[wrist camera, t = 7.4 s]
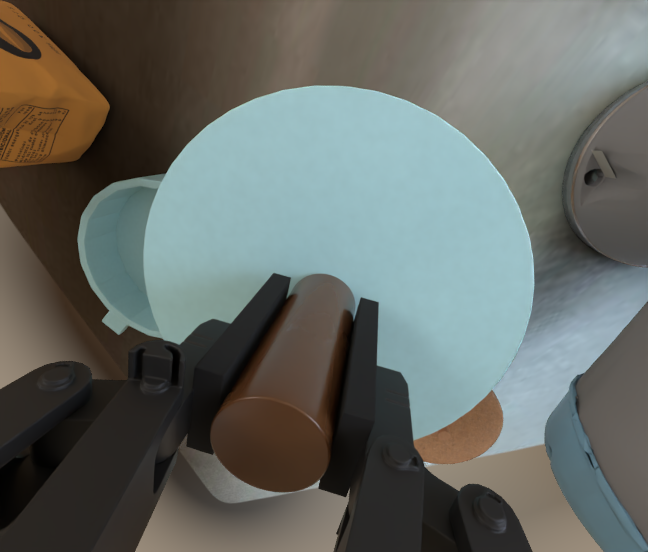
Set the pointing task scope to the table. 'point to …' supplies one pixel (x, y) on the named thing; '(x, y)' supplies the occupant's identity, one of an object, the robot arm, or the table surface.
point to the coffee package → (42, 97)
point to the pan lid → (339, 265)
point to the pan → (119, 251)
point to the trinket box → (464, 435)
